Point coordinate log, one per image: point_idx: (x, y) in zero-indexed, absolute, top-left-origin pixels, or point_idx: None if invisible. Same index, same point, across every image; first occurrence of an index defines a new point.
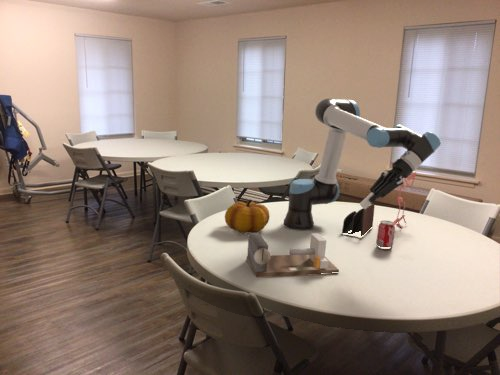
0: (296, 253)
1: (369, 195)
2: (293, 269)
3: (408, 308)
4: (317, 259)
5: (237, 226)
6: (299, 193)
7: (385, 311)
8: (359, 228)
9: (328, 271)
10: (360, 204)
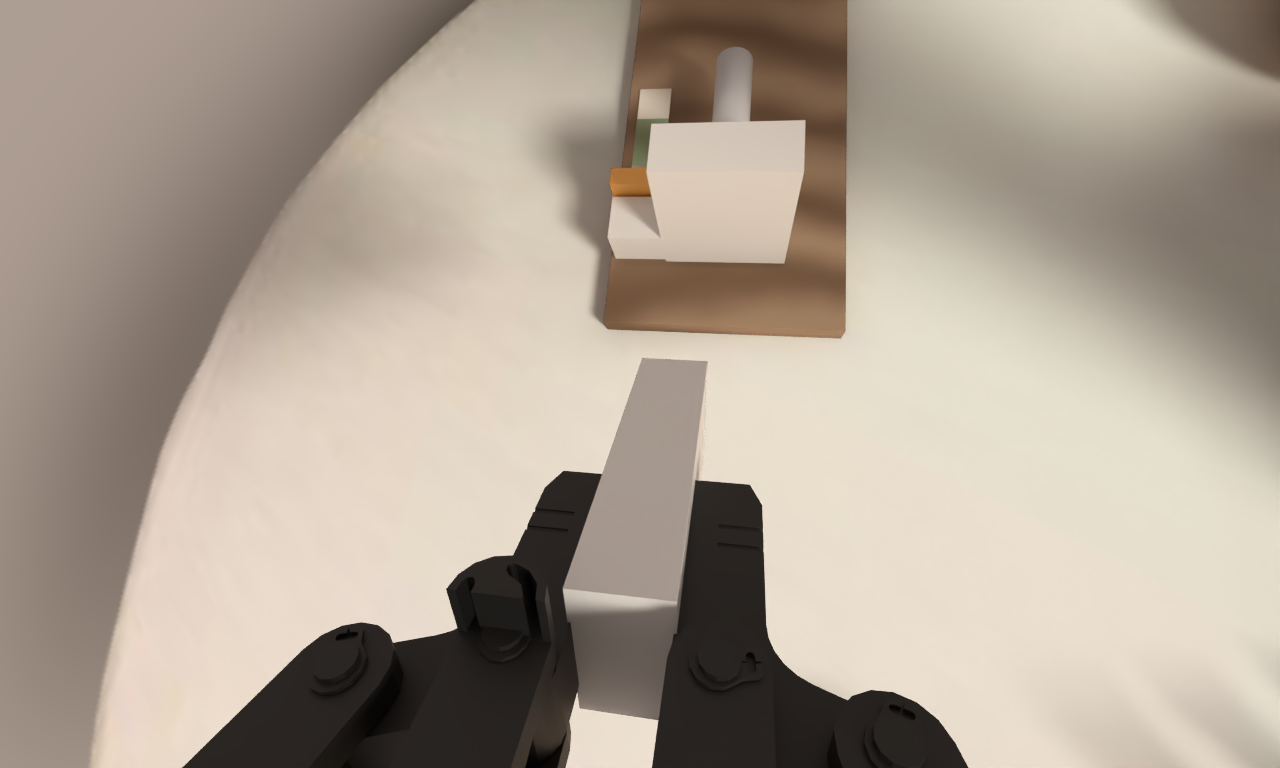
0: (714, 91)
1: (634, 508)
2: (647, 105)
3: (230, 462)
4: (612, 171)
5: None
6: None
7: (250, 350)
8: None
9: (611, 269)
10: (668, 362)
